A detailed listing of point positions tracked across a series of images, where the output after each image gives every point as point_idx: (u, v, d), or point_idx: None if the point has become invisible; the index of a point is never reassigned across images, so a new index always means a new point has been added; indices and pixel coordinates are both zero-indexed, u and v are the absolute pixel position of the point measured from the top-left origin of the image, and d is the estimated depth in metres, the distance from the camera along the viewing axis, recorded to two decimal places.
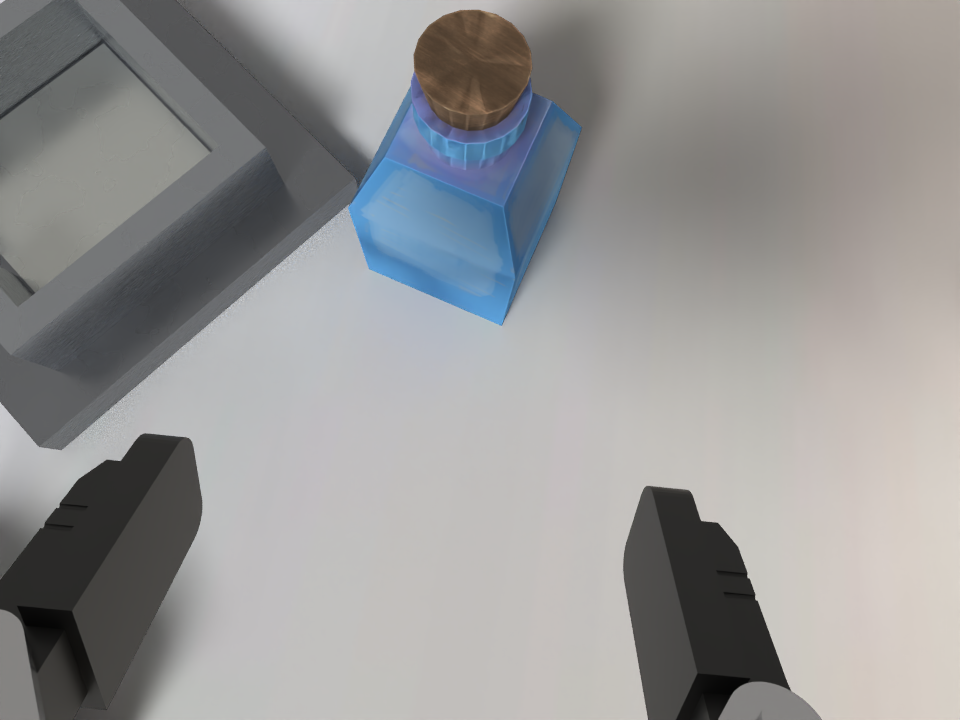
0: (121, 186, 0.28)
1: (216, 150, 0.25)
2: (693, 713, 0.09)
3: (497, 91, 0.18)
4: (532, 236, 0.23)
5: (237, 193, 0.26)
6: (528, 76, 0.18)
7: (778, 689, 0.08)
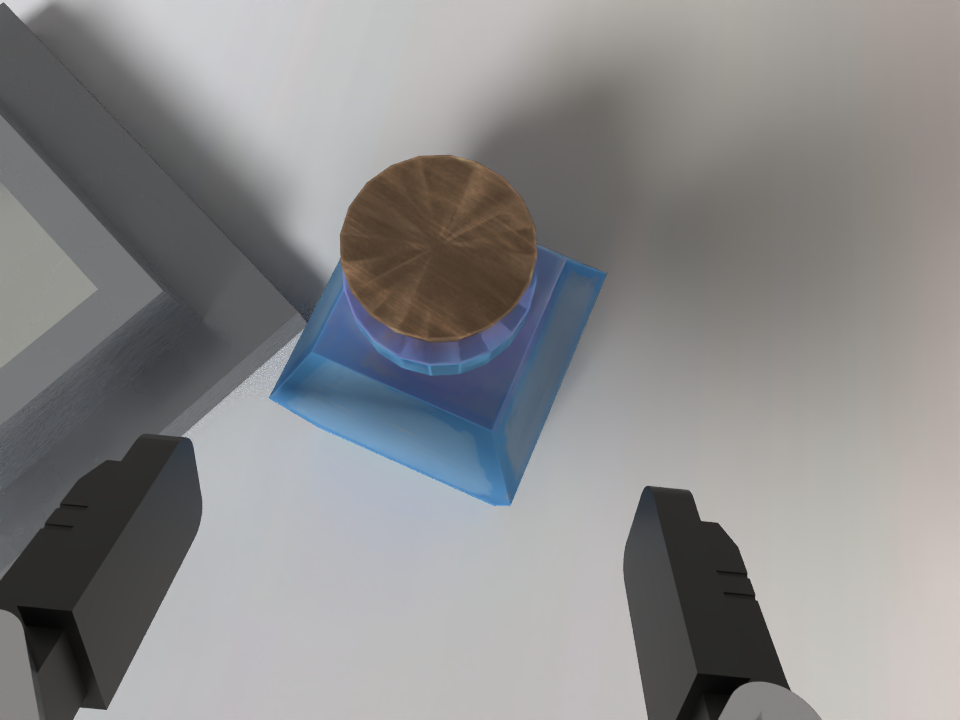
0: None
1: (93, 296, 0.18)
2: (693, 712, 0.09)
3: (479, 298, 0.11)
4: (535, 440, 0.16)
5: (129, 348, 0.19)
6: (531, 270, 0.11)
7: (778, 689, 0.08)
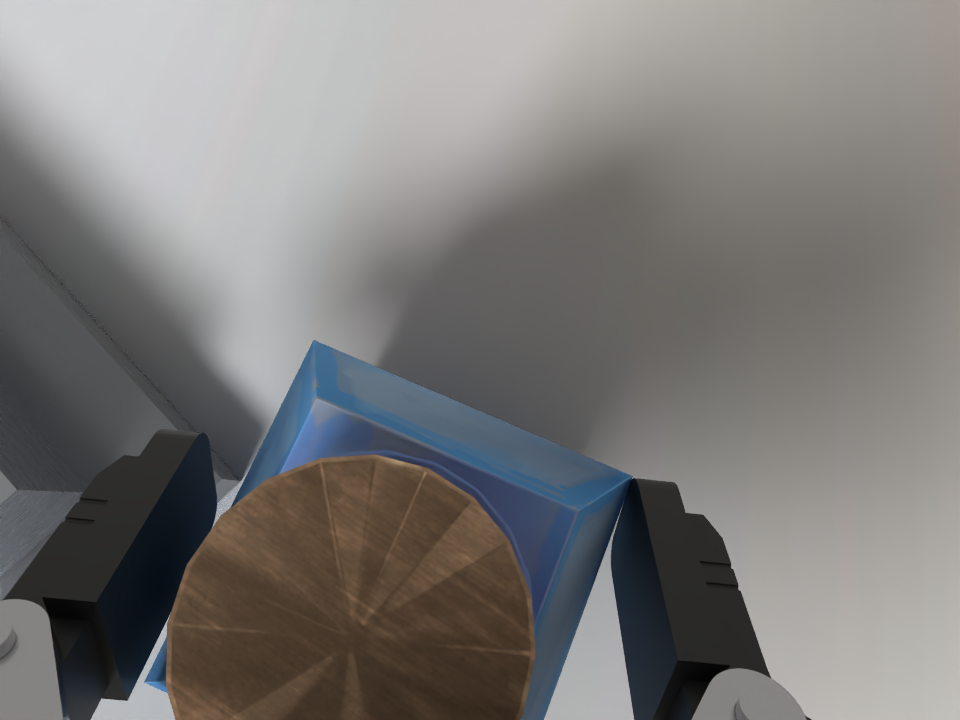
0: None
1: None
2: (674, 700, 0.09)
3: None
4: None
5: None
6: (524, 684, 0.06)
7: (757, 676, 0.09)
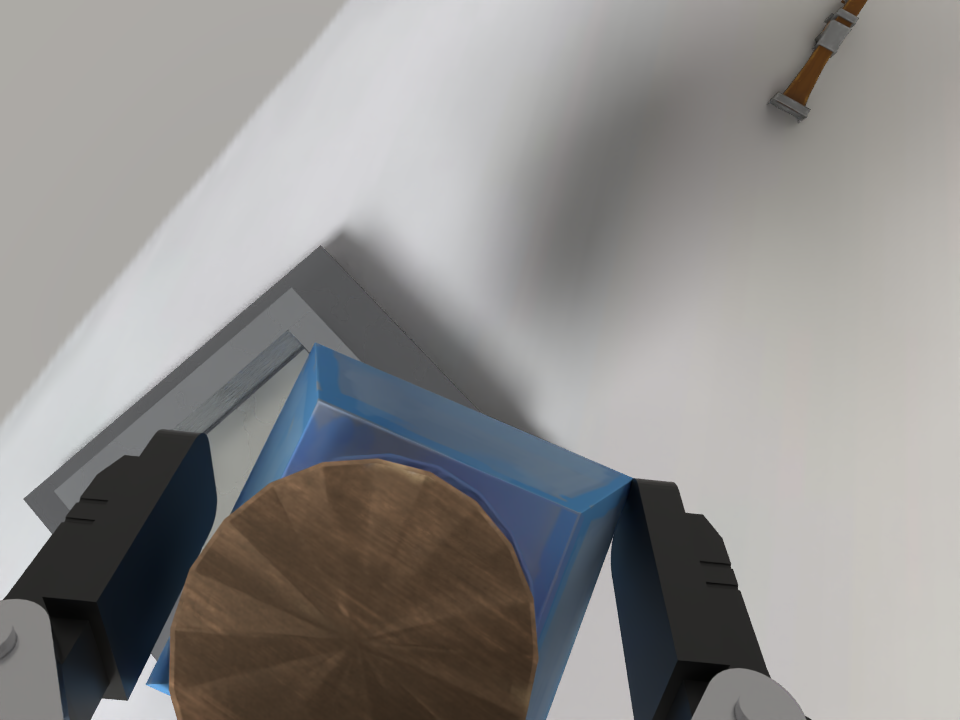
0: None
1: None
2: (674, 699, 0.09)
3: None
4: None
5: None
6: (527, 688, 0.06)
7: (756, 675, 0.09)
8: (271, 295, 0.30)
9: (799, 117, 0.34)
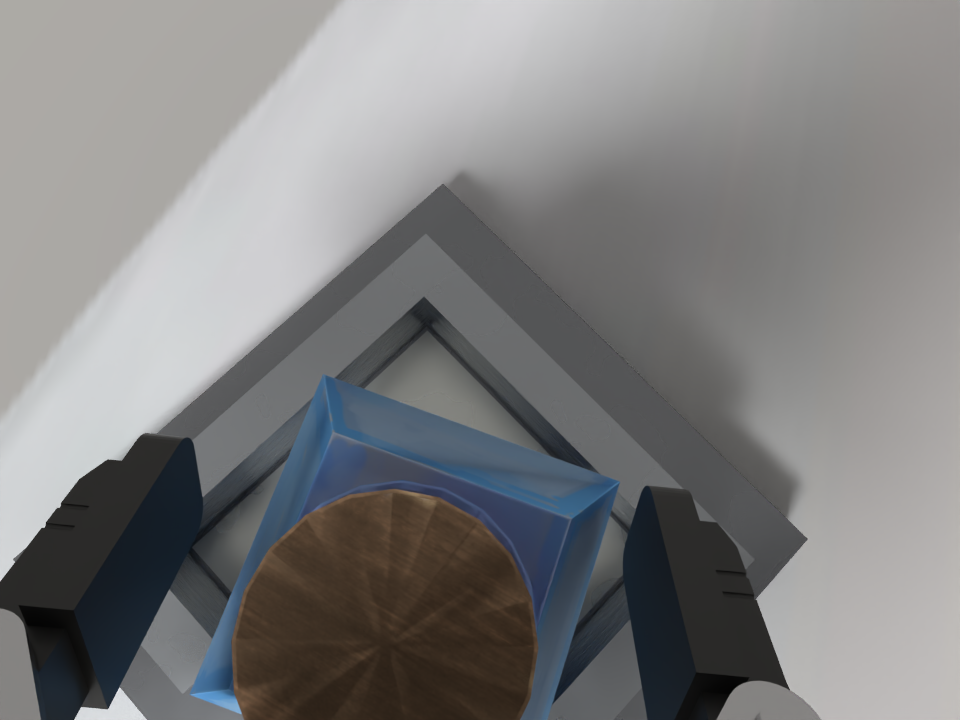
0: None
1: None
2: (691, 712, 0.09)
3: None
4: None
5: None
6: (530, 673, 0.07)
7: (777, 688, 0.08)
8: (375, 254, 0.21)
9: None
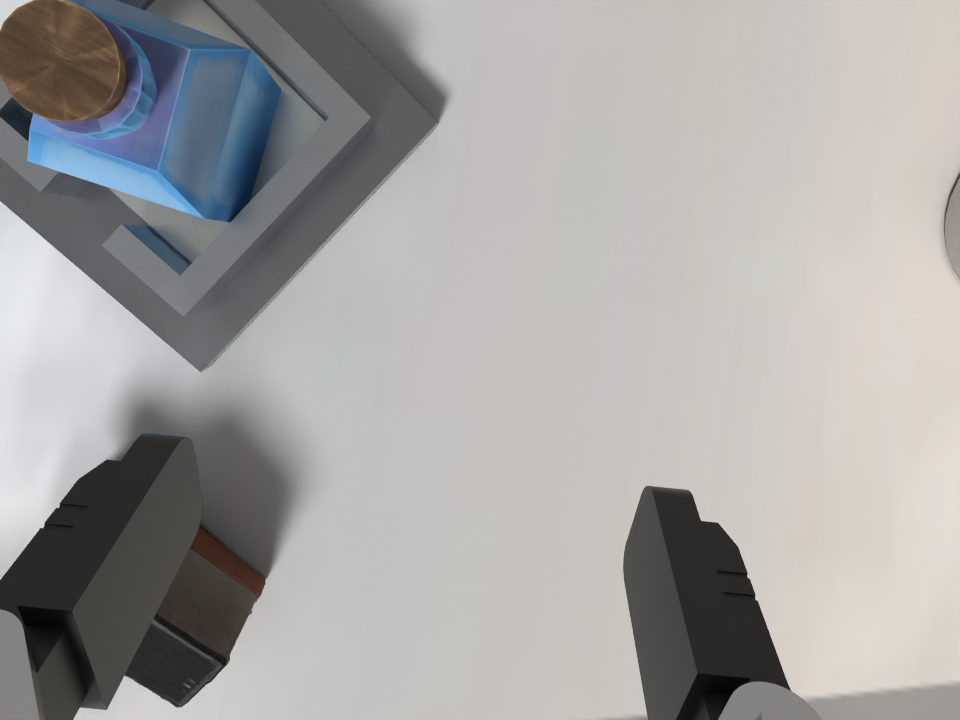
0: None
1: (327, 122, 0.28)
2: (693, 713, 0.09)
3: (89, 93, 0.19)
4: (215, 175, 0.25)
5: (343, 154, 0.29)
6: (118, 73, 0.19)
7: (778, 689, 0.08)
8: None
9: None
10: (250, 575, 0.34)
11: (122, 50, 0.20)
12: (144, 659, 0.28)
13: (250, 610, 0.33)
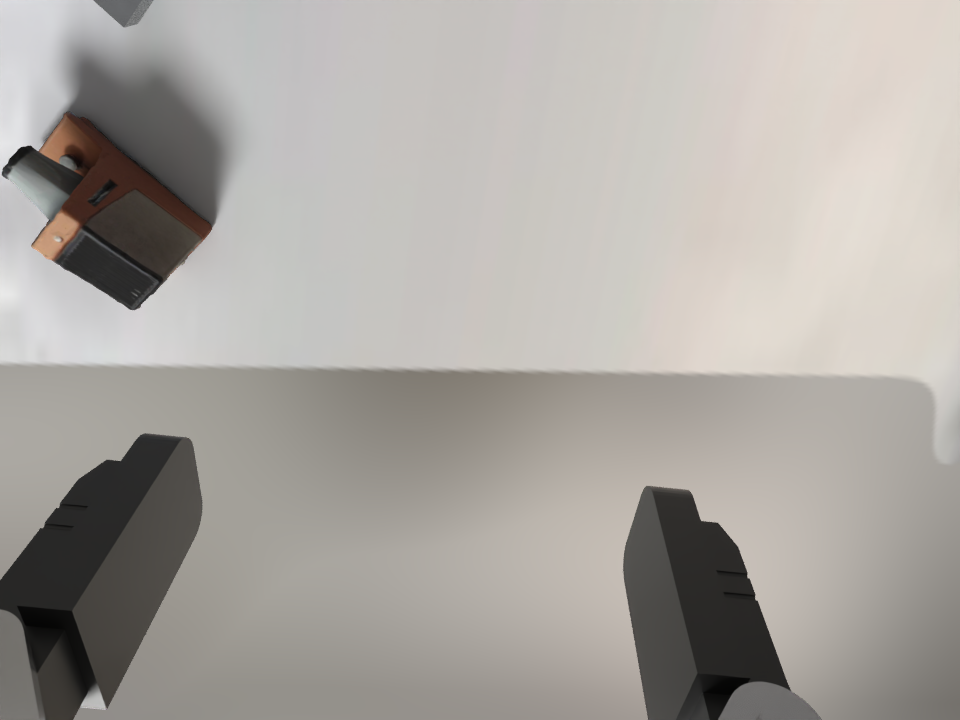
0: None
1: None
2: (693, 713, 0.09)
3: None
4: None
5: None
6: None
7: (778, 689, 0.08)
8: None
9: None
10: (196, 220, 0.41)
11: None
12: (96, 269, 0.36)
13: (193, 247, 0.40)
